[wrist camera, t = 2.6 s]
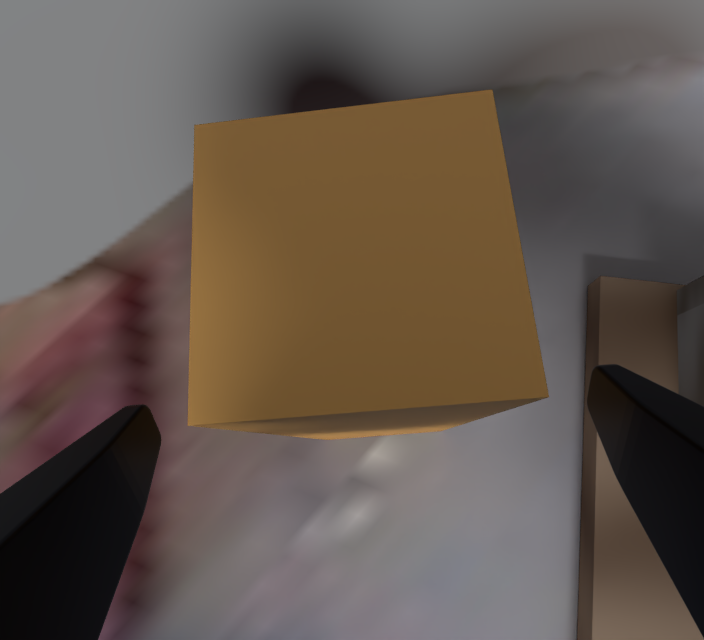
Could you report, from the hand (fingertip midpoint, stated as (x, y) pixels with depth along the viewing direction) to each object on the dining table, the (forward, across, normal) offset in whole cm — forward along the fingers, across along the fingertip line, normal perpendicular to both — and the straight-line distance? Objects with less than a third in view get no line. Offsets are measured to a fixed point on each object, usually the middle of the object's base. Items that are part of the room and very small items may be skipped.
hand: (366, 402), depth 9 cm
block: (+8, 0, +5) cm, 9 cm away
